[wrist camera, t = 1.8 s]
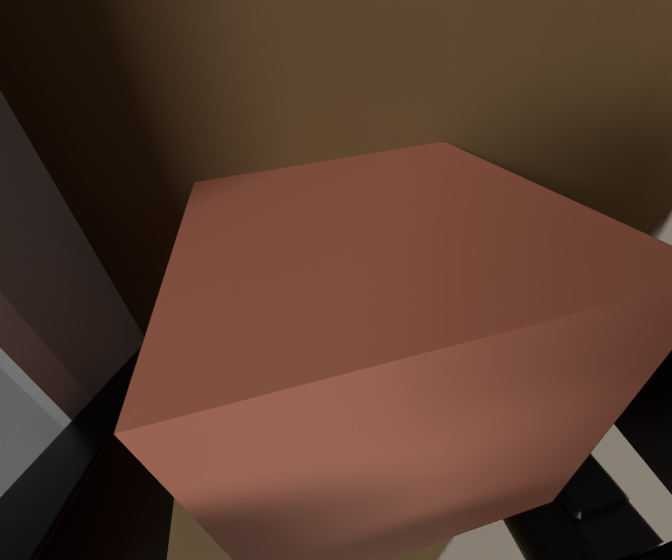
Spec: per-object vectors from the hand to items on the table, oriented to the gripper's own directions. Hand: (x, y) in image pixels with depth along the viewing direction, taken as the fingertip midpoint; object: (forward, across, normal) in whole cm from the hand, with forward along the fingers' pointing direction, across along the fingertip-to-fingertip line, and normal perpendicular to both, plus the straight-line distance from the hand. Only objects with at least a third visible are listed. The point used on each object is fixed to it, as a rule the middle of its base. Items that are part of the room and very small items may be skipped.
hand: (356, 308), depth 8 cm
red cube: (+2, 0, 0) cm, 2 cm away
